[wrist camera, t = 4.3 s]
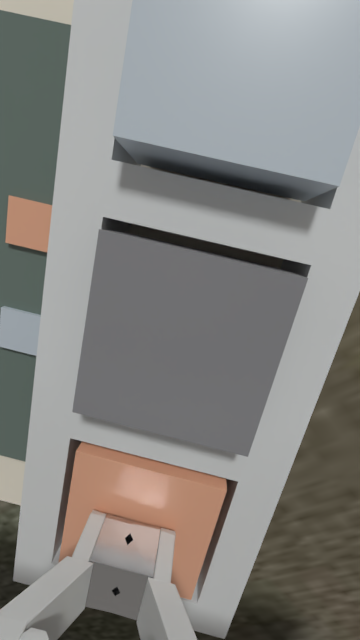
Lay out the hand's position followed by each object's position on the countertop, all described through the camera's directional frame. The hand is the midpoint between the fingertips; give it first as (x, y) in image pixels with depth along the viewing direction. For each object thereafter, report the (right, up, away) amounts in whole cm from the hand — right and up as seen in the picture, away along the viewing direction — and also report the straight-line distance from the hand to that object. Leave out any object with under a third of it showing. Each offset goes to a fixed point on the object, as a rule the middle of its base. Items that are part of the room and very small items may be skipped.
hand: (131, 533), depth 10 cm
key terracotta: (0, +1, +2) cm, 3 cm away
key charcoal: (+2, +7, 0) cm, 7 cm away
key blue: (+3, +14, -2) cm, 14 cm away
